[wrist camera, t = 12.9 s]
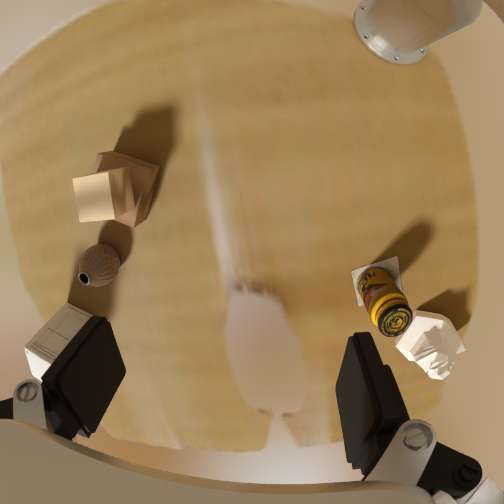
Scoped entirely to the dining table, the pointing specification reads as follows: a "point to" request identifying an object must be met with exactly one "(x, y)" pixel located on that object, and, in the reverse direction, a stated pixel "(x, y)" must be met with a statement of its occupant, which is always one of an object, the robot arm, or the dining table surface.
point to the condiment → (383, 296)
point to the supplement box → (54, 338)
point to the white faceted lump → (431, 343)
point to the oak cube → (104, 194)
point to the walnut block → (141, 179)
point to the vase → (98, 265)
